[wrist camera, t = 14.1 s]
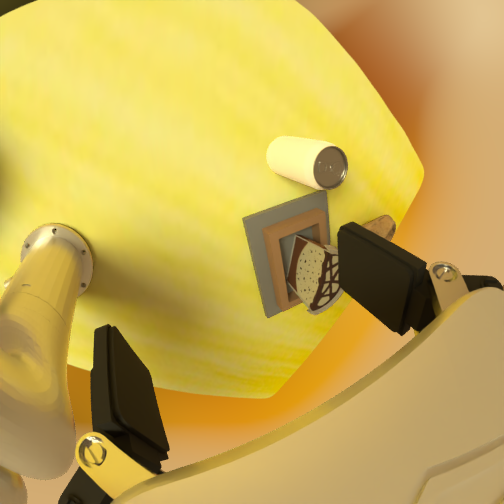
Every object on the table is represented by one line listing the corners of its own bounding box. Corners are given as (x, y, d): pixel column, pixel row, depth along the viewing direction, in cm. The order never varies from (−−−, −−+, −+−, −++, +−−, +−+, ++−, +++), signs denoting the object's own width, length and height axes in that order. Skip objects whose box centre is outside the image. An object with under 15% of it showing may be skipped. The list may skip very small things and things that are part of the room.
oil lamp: (386, 220, 58) (412, 233, 52) (353, 272, 61) (376, 289, 54) (366, 196, 52) (395, 208, 46) (328, 255, 55) (353, 273, 48)
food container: (309, 283, 54) (340, 311, 46) (284, 287, 52) (313, 317, 44) (323, 226, 49) (360, 248, 41) (296, 226, 47) (332, 250, 39)
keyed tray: (265, 315, 54) (273, 325, 52) (242, 218, 43) (251, 225, 40) (328, 283, 58) (338, 291, 56) (322, 189, 47) (335, 194, 44)
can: (298, 174, 44) (347, 192, 34) (264, 175, 41) (308, 194, 31) (301, 136, 41) (352, 144, 31) (265, 134, 38) (312, 140, 29)
